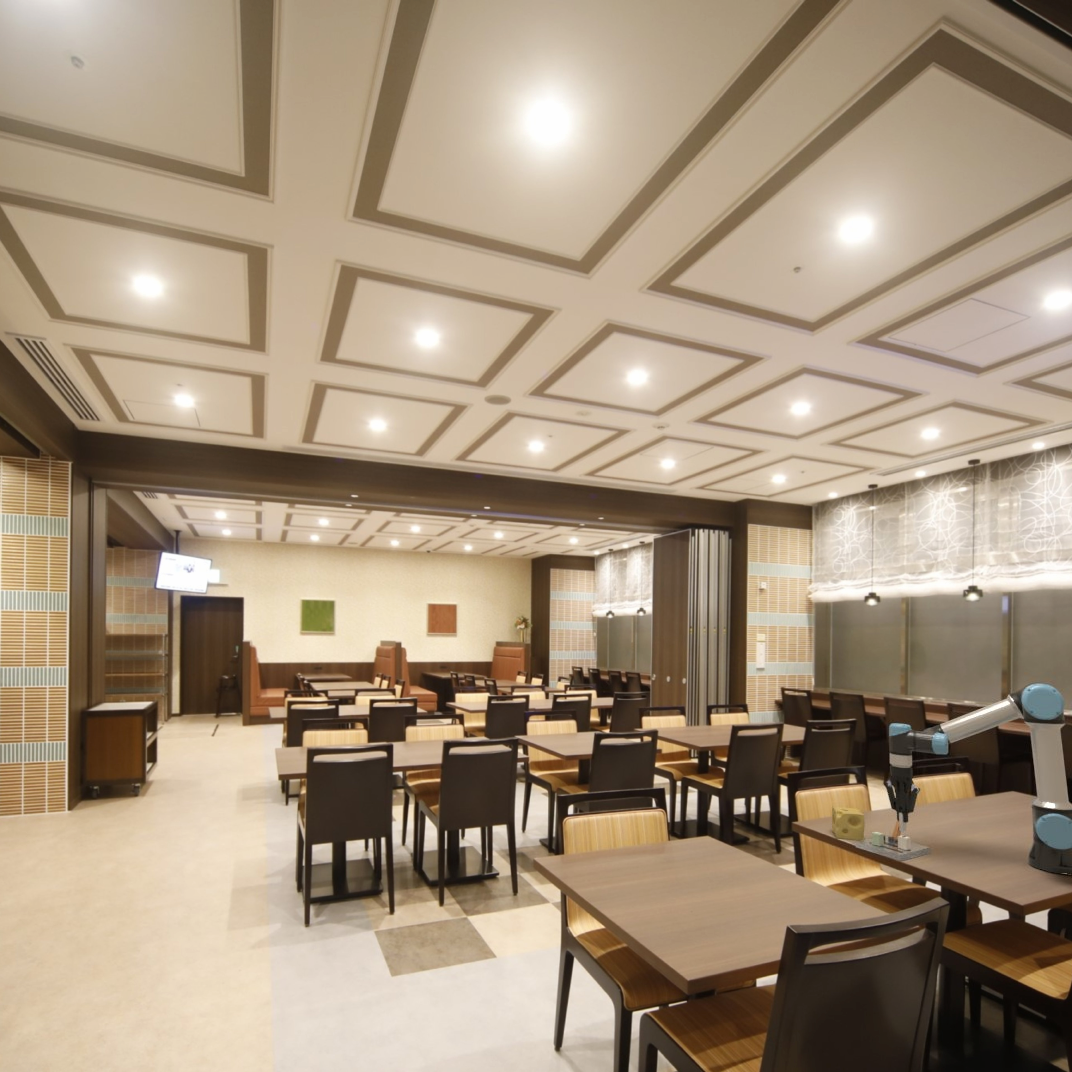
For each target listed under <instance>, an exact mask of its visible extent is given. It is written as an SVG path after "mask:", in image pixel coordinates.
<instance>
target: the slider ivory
mask: <svg viewBox="0 0 1072 1072" xmlns="http://www.w3.org/2000/svg"><path fill="white" fill-rule="evenodd" d="M910 842H911V837H909V836H907V835H901V834H900V836H898V848H900V849H904V850H909V849H911V844H910Z"/></svg>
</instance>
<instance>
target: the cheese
mask: <svg viewBox="0 0 1072 1072" xmlns="http://www.w3.org/2000/svg"><path fill="white" fill-rule="evenodd" d="M865 823H866V822H865V815H864V814H863V813H862V812H861V811H860V810H859V809H858V808H853V807H841V806H832V807H831V830H832V833H833V834H834V835H835V839H840V840H841V839H842V840H843V839H844V840H852V841H860V840H864V834H865V828H866V825H865Z"/></svg>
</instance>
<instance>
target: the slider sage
mask: <svg viewBox="0 0 1072 1072" xmlns="http://www.w3.org/2000/svg"><path fill="white" fill-rule="evenodd" d="M870 835H871V837H870V838H871V844H873V845H877V846H883V845H884V835H885V834H884V833H882V832H880V831H873V832H871V834H870Z"/></svg>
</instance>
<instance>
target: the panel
mask: <svg viewBox="0 0 1072 1072" xmlns="http://www.w3.org/2000/svg"><path fill="white" fill-rule="evenodd" d="M854 844H855V847H854V848H857V849H860V850H864V851H867V852H870V853H873V854H875V855H879V856H882V857H887V858H889V859H893V860H895V861H900V862H903V861H907V860H910V859H914V858H916V857H921V856H925V855H929V854H930V853H931V852H930V850H931V848H930V846H926V845H922V844H919V843H915V842H912V841H910V844H911V849H909V850H904V849H900V848H898V841H894V837H892V835H887V834H884V845H883V846H877V845H873V844H871V837H869V838H865V839H864V838H863V840H860V841H858V840H855V843H854Z"/></svg>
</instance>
